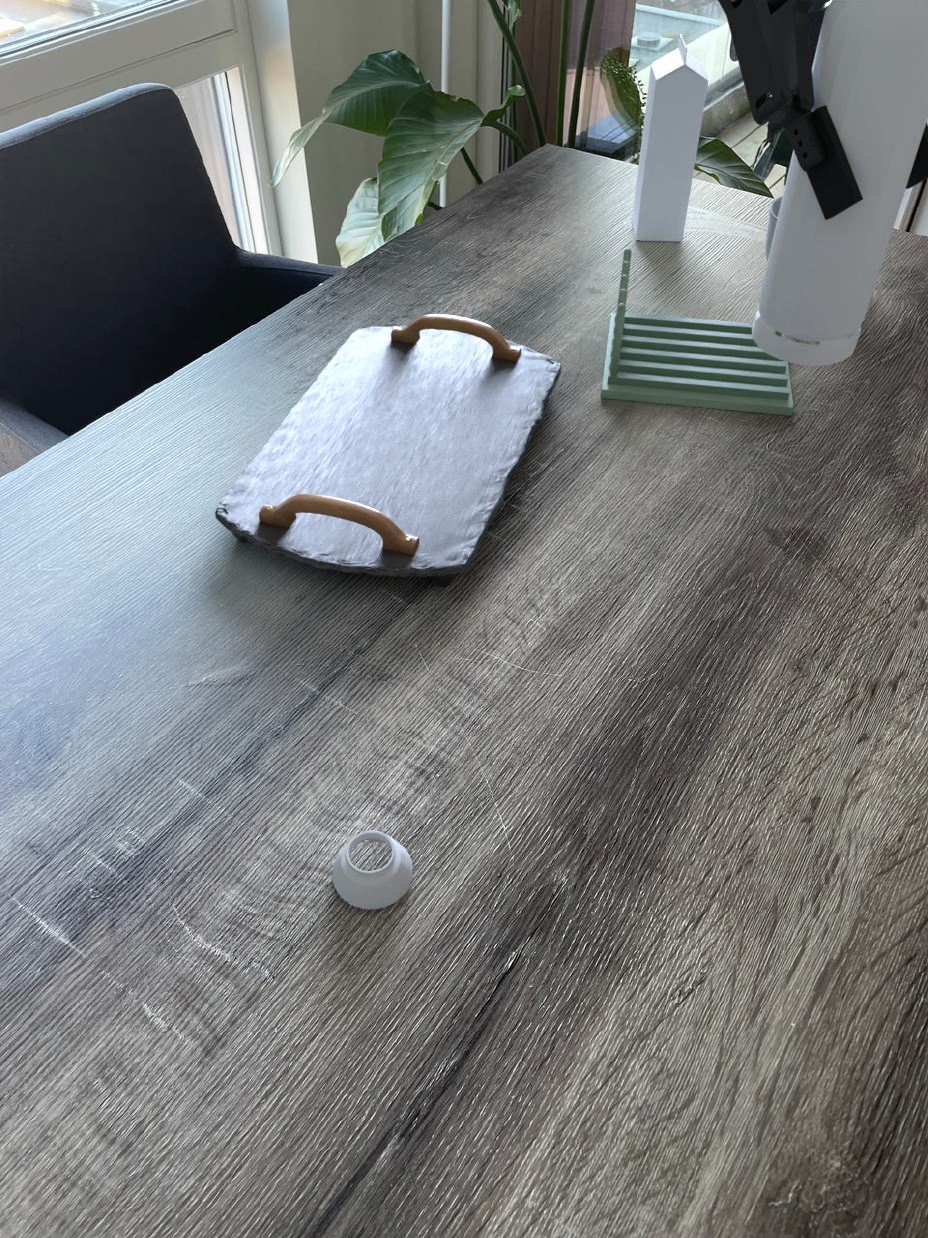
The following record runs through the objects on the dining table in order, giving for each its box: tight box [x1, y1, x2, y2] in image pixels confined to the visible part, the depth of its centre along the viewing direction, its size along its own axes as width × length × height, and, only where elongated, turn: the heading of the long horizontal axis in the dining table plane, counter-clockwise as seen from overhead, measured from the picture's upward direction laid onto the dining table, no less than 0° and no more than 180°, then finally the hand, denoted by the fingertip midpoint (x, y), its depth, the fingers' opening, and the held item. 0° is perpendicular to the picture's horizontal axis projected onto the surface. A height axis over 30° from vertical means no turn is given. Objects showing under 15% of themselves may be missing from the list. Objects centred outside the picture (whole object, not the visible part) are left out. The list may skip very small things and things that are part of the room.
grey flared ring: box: [331, 830, 414, 910], centre depth 62 cm, size 5×3×5 cm
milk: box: [631, 33, 709, 243], centre depth 121 cm, size 6×6×22 cm
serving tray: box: [214, 313, 563, 588], centre depth 92 cm, size 39×23×6 cm, turn 162°
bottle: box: [752, 0, 928, 367], centre depth 70 cm, size 8×8×28 cm
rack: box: [600, 247, 795, 417], centre depth 103 cm, size 19×16×9 cm
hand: (885, 193), depth 69 cm, fingers closed on bottle, 8 cm apart
